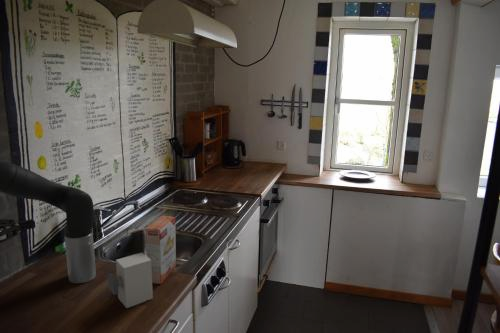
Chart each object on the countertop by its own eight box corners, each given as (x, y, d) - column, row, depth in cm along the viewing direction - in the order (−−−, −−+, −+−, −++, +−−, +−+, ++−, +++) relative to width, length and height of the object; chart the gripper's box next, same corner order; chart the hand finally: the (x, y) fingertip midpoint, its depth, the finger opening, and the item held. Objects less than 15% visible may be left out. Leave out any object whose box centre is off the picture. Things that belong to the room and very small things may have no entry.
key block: (118, 298, 127) (115, 259, 124) (143, 289, 133) (142, 252, 130) (126, 308, 122) (124, 268, 119) (152, 298, 127) (151, 259, 124)
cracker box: (162, 285, 136) (160, 230, 131) (146, 283, 137) (144, 228, 132) (177, 266, 149) (176, 216, 145) (162, 265, 150) (161, 214, 146)
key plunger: (108, 288, 123) (107, 274, 122) (130, 280, 128) (129, 267, 127) (114, 295, 119) (113, 280, 118) (136, 287, 124) (136, 273, 123)
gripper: (-45, 233, 89) (38, 217, 100) (-48, 217, 99) (28, 204, 110) (-40, 262, 91) (41, 243, 102) (-44, 243, 101) (30, 228, 111)
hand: (34, 223), depth 106 cm, fingers closed
